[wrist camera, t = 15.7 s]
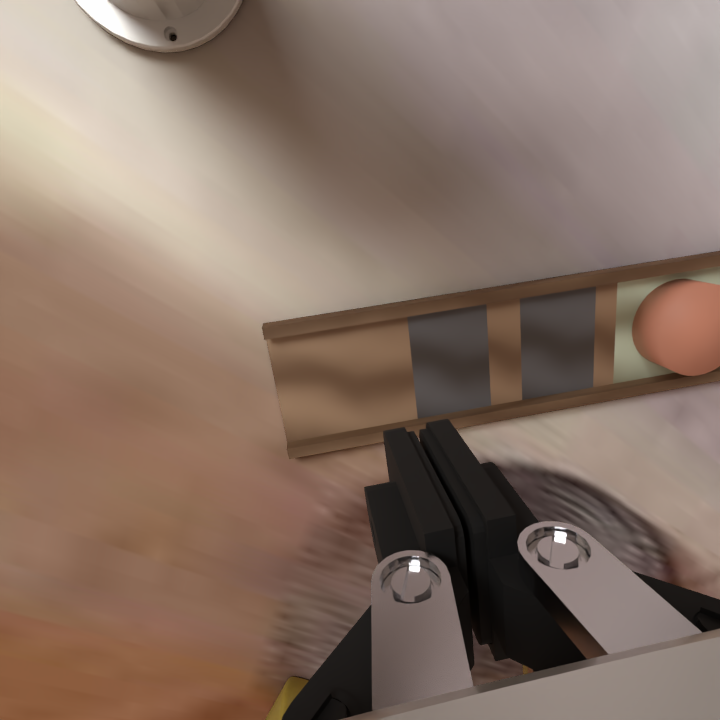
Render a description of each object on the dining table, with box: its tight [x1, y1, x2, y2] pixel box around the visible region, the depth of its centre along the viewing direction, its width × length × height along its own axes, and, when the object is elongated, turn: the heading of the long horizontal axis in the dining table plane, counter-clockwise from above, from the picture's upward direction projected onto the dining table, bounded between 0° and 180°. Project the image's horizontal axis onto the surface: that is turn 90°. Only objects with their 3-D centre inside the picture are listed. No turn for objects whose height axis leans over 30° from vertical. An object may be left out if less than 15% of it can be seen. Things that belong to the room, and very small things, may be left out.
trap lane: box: [262, 251, 720, 459], centre depth 42 cm, size 12×44×2 cm, turn 98°
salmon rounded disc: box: [632, 279, 720, 376], centre depth 42 cm, size 8×8×4 cm
